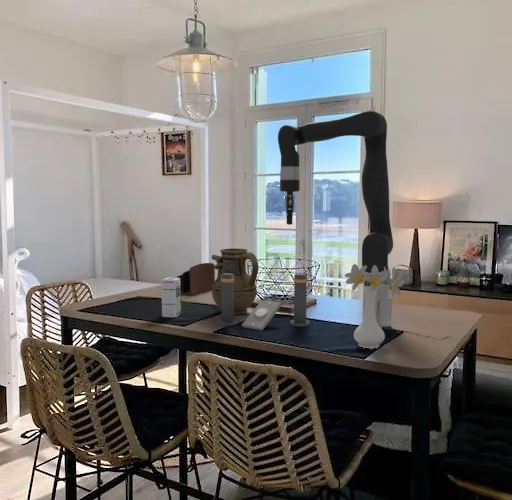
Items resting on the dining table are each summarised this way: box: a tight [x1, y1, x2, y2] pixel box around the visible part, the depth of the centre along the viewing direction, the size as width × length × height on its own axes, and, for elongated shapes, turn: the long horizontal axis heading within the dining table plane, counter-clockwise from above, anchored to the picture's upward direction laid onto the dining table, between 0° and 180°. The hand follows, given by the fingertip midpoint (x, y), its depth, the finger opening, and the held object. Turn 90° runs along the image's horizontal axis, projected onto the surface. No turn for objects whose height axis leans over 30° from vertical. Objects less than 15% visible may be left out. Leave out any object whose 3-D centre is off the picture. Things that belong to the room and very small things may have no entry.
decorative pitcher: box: [211, 247, 259, 315], centre depth 209 cm, size 22×18×25 cm
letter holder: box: [176, 262, 216, 297], centre depth 256 cm, size 10×20×14 cm, turn 150°
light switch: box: [241, 299, 283, 331], centre depth 190 cm, size 8×6×14 cm
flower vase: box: [344, 263, 406, 350], centre depth 162 cm, size 13×18×25 cm
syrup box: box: [160, 276, 182, 318], centre depth 204 cm, size 6×6×14 cm
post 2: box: [289, 273, 311, 328], centre depth 190 cm, size 7×7×18 cm
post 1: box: [217, 273, 238, 327], centre depth 191 cm, size 7×7×18 cm
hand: (289, 224), depth 205 cm, fingers closed
